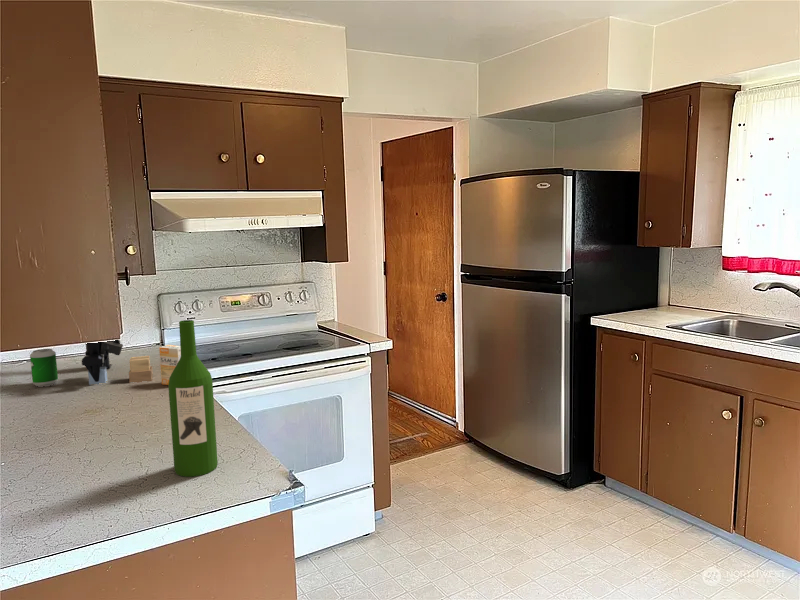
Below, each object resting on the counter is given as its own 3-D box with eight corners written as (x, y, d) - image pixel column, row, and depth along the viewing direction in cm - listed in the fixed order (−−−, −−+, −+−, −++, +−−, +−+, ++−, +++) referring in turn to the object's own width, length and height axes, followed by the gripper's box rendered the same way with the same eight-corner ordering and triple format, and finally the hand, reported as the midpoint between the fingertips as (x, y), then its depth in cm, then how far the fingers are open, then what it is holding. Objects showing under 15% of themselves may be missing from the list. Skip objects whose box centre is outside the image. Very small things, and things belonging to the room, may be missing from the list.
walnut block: (131, 379, 208) (130, 368, 207) (153, 377, 210) (152, 366, 210) (129, 383, 201) (128, 372, 201) (151, 381, 203) (150, 370, 203)
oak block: (131, 368, 207) (130, 357, 206) (150, 366, 209) (149, 355, 209) (130, 372, 201) (129, 360, 201) (149, 370, 203) (148, 359, 203)
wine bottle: (175, 480, 121) (164, 326, 117) (173, 464, 130) (163, 320, 126) (220, 472, 125) (210, 322, 121) (215, 457, 133) (206, 316, 129)
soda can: (63, 381, 205) (60, 348, 204) (48, 387, 198) (45, 352, 196) (43, 381, 206) (40, 348, 204) (27, 387, 198) (24, 352, 197)
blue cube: (91, 381, 204) (90, 368, 204) (107, 380, 206) (106, 366, 205) (89, 385, 200) (88, 371, 199) (105, 383, 201) (104, 369, 201)
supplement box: (160, 385, 198) (158, 347, 196) (171, 381, 202) (168, 344, 201) (179, 386, 195) (177, 348, 193) (190, 383, 199) (187, 345, 198)
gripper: (117, 338, 195) (120, 383, 197) (122, 329, 212) (126, 371, 214) (79, 340, 191) (83, 387, 193) (88, 331, 208) (92, 374, 210)
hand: (98, 379), depth 203 cm, fingers open, 5 cm apart
